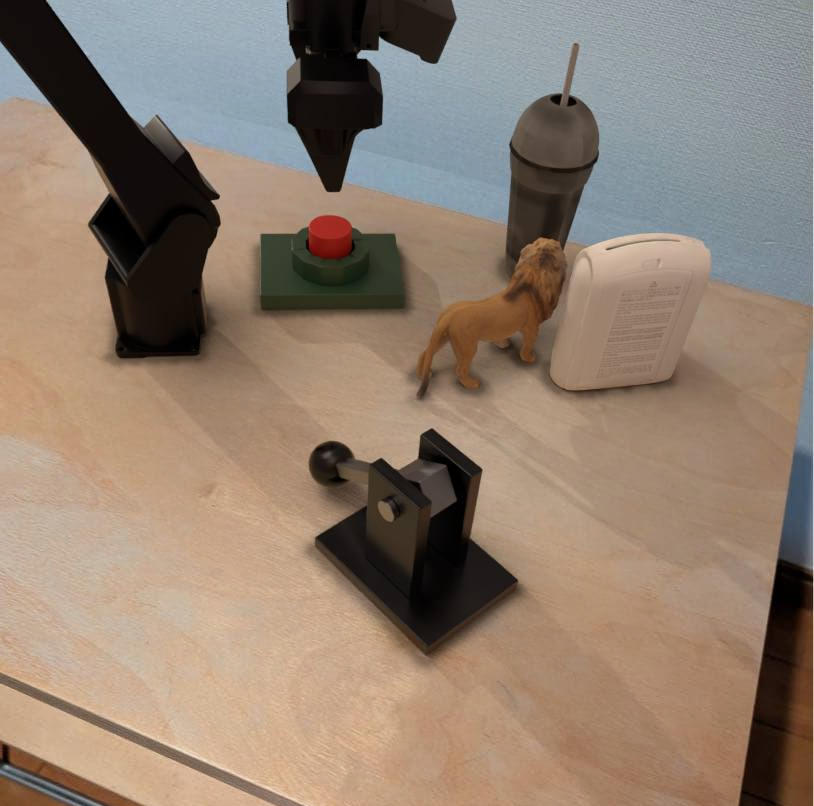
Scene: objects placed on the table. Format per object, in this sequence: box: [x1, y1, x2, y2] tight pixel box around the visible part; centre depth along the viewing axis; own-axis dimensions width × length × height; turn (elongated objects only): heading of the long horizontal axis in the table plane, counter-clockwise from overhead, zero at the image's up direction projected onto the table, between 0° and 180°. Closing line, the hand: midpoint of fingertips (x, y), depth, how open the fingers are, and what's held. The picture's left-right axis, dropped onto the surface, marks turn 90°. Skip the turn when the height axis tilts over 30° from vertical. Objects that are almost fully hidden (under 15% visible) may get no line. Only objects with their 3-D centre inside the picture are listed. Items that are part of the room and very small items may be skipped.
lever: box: [308, 440, 457, 518], centre depth 58 cm, size 13×3×3 cm, turn 42°
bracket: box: [314, 427, 519, 656], centre depth 56 cm, size 11×8×10 cm
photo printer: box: [549, 232, 712, 391], centre depth 69 cm, size 10×4×12 cm, turn 103°
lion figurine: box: [415, 238, 569, 398], centre depth 70 cm, size 15×5×9 cm, turn 134°
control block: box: [259, 225, 406, 311], centre depth 78 cm, size 12×9×4 cm
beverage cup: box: [504, 42, 600, 279], centre depth 74 cm, size 7×7×20 cm
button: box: [308, 214, 353, 259], centre depth 76 cm, size 4×4×2 cm
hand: (331, 161), depth 71 cm, fingers open, 8 cm apart
